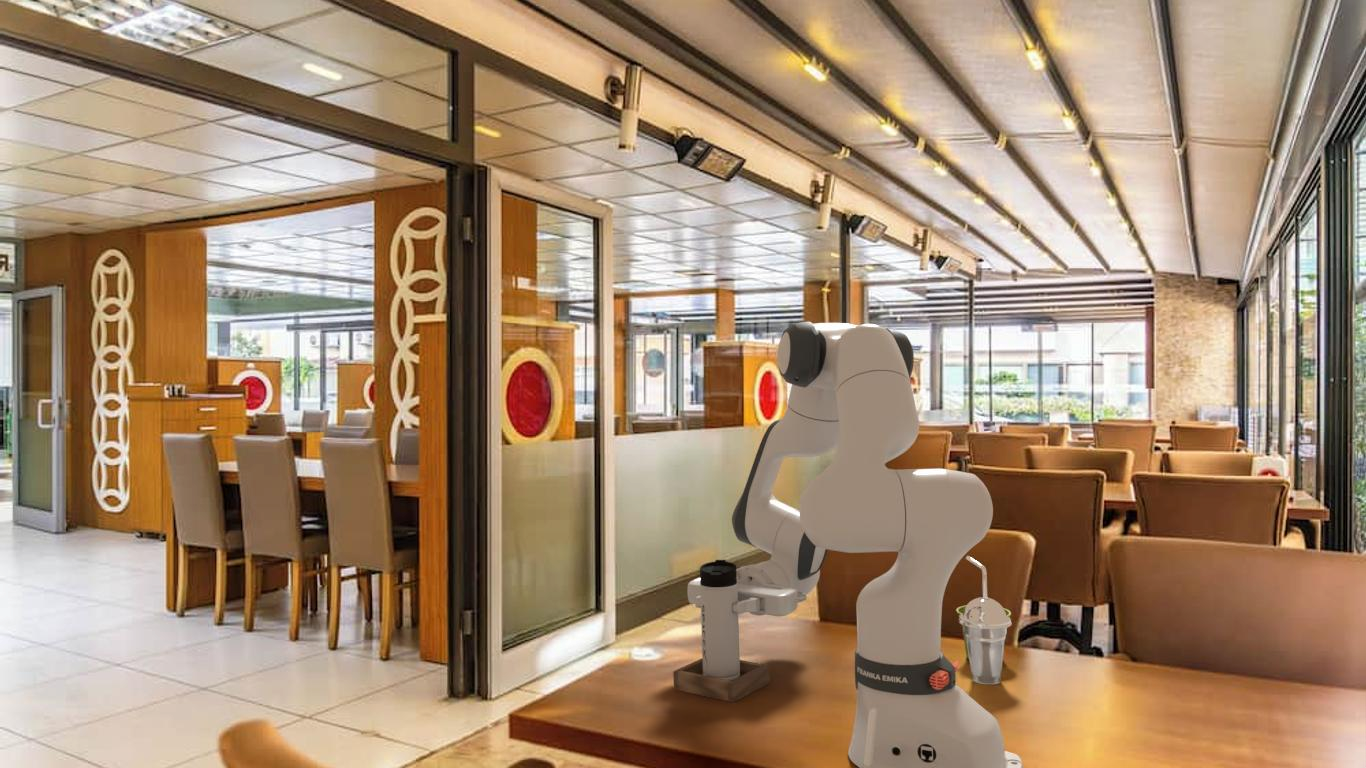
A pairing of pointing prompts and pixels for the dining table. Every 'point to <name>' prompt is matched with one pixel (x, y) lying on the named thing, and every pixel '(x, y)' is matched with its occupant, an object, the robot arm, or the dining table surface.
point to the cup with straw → (985, 634)
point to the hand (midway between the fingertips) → (716, 605)
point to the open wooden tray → (721, 681)
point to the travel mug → (719, 620)
